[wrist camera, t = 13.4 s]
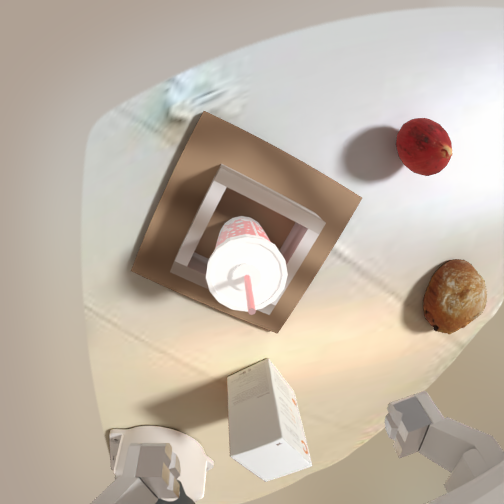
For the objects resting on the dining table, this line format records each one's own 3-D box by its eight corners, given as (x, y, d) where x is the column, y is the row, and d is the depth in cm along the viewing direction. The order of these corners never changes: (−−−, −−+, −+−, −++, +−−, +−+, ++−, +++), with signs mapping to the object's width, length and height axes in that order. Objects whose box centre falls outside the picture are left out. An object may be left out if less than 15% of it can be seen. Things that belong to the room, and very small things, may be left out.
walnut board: (276, 328, 38) (282, 354, 33) (133, 267, 34) (120, 287, 29) (358, 196, 33) (378, 206, 28) (204, 111, 29) (200, 107, 24)
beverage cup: (202, 255, 33) (188, 335, 20) (224, 199, 31) (221, 249, 18) (258, 274, 34) (276, 360, 21) (281, 221, 32) (318, 284, 19)
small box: (225, 376, 40) (227, 456, 28) (268, 356, 39) (283, 437, 27) (256, 408, 43) (265, 483, 31) (295, 391, 42) (314, 466, 30)
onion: (374, 149, 31) (413, 157, 24) (398, 107, 29) (441, 105, 22) (411, 179, 32) (453, 194, 25) (433, 139, 31) (478, 145, 23)
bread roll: (463, 274, 42) (503, 274, 34) (446, 338, 41) (486, 346, 33) (426, 249, 40) (469, 246, 32) (406, 320, 38) (449, 328, 31)
